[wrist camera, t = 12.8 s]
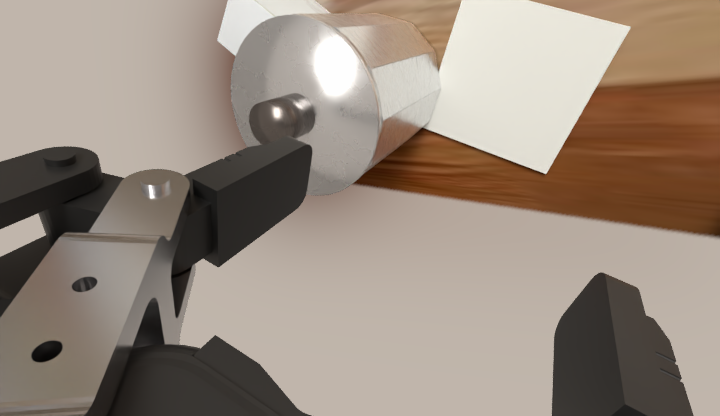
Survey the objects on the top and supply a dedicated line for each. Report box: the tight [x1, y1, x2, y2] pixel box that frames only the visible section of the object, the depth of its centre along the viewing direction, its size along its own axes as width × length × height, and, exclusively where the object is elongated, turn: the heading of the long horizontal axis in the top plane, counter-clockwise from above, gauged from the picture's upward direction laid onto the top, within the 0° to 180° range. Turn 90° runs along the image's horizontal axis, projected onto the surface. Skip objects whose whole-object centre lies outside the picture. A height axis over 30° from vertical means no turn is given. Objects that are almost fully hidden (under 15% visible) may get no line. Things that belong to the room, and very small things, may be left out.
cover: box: [231, 13, 441, 195], centre depth 41 cm, size 17×17×24 cm
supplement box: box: [217, 0, 330, 56], centre depth 46 cm, size 7×7×13 cm
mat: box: [422, 0, 631, 174], centre depth 43 cm, size 17×17×1 cm
